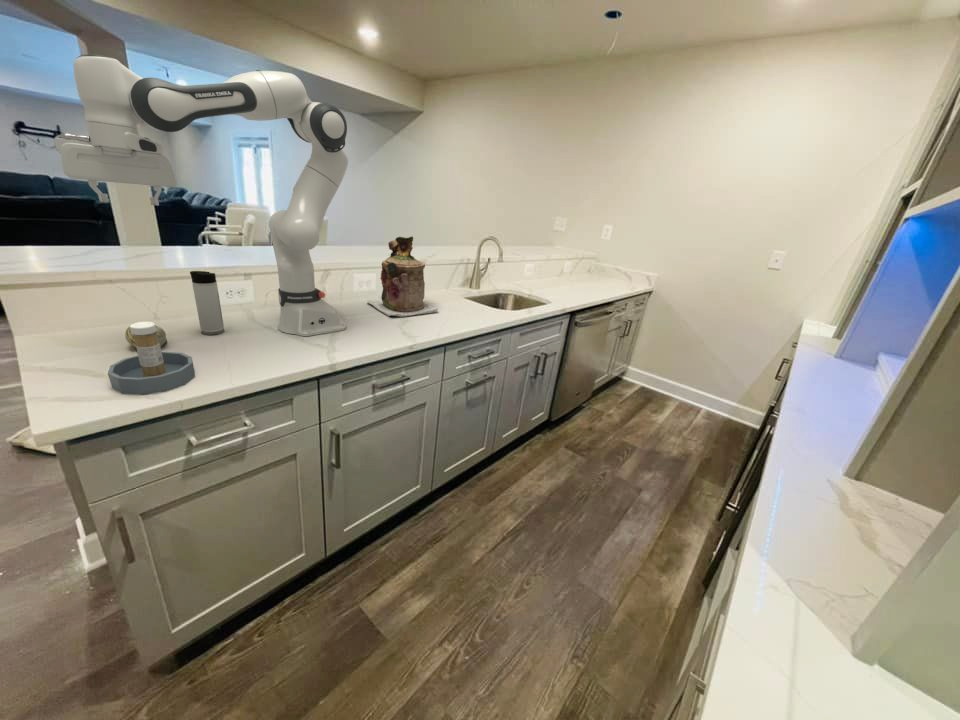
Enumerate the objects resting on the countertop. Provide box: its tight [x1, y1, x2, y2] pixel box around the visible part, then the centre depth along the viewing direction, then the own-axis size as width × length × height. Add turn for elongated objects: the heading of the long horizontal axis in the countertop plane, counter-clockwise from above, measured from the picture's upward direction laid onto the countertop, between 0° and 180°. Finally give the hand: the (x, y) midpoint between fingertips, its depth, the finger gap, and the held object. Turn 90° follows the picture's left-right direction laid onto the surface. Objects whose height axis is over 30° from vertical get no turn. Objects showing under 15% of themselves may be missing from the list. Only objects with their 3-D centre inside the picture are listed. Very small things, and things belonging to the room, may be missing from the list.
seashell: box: [125, 325, 168, 348], centre depth 110 cm, size 10×10×10 cm
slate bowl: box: [107, 351, 196, 396], centre depth 94 cm, size 16×16×4 cm
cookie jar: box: [366, 235, 439, 318], centre depth 166 cm, size 25×25×32 cm
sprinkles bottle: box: [129, 321, 166, 377], centre depth 92 cm, size 5×5×14 cm
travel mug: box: [189, 270, 225, 336], centre depth 121 cm, size 6×7×20 cm
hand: (130, 203), depth 94 cm, fingers open, 8 cm apart
